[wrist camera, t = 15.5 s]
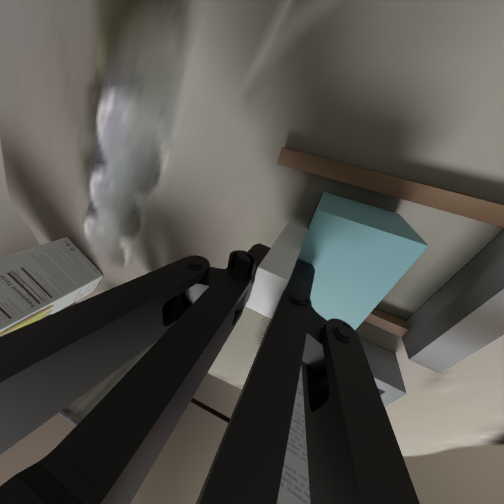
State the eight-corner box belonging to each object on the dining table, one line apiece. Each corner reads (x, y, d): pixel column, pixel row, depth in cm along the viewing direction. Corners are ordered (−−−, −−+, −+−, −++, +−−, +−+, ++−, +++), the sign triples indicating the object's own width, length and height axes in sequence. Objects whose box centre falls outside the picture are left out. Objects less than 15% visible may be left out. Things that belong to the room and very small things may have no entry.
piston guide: (285, 147, 13) (273, 147, 11) (571, 222, 10) (649, 246, 7) (253, 266, 19) (241, 283, 17) (423, 338, 16) (439, 373, 13)
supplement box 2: (300, 337, 20) (266, 500, 11) (354, 366, 19) (369, 577, 10) (281, 361, 23) (243, 503, 14) (326, 388, 22) (318, 560, 13)
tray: (285, 303, 20) (276, 329, 17) (395, 354, 17) (406, 393, 15) (262, 355, 26) (253, 380, 23) (341, 398, 23) (341, 432, 21)
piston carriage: (323, 191, 13) (317, 209, 9) (398, 213, 12) (428, 245, 8) (292, 266, 17) (278, 302, 13) (347, 288, 16) (350, 335, 12)
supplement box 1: (94, 291, 39) (-38, 368, 25) (61, 258, 38) (-97, 319, 24) (104, 275, 34) (-56, 360, 20) (66, 234, 32) (-134, 297, 19)
